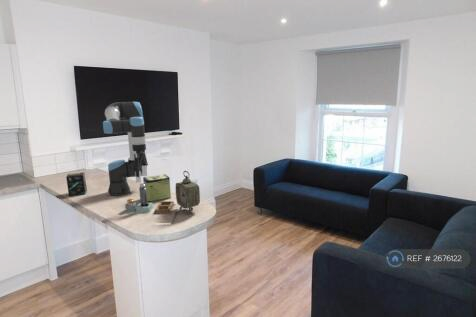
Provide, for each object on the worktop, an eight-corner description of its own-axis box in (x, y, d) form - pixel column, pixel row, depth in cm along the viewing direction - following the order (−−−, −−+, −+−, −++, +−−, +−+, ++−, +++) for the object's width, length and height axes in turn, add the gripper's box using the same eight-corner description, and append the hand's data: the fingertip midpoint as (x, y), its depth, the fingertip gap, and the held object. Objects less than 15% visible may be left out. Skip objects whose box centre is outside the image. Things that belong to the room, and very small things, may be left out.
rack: (159, 205, 202) (159, 201, 201) (175, 205, 202) (175, 200, 201) (153, 215, 186) (153, 210, 185) (170, 214, 186) (170, 210, 185)
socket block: (130, 208, 198) (129, 200, 197) (154, 207, 199) (153, 200, 198) (123, 215, 187) (123, 207, 186) (149, 214, 187) (149, 206, 186)
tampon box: (87, 190, 237) (84, 171, 234) (85, 194, 228) (83, 174, 225) (70, 192, 233) (68, 173, 230) (68, 196, 225) (65, 176, 222)
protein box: (171, 199, 213) (169, 177, 210) (148, 203, 206) (146, 180, 203) (166, 195, 222) (165, 173, 219) (144, 199, 215) (142, 177, 212)
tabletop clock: (176, 209, 195) (174, 169, 190) (189, 205, 200) (187, 167, 195) (188, 216, 184) (185, 174, 179) (201, 212, 189) (199, 171, 184)
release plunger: (128, 206, 194) (128, 199, 193) (135, 206, 194) (134, 199, 193) (126, 209, 190) (126, 201, 189) (133, 209, 190) (132, 201, 189)
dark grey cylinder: (142, 208, 194) (140, 183, 191) (148, 208, 194) (146, 183, 191) (140, 211, 190) (138, 185, 187) (147, 210, 190) (144, 185, 187)
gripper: (138, 140, 196) (141, 173, 200) (125, 147, 172) (129, 185, 176) (150, 140, 196) (153, 173, 201) (139, 147, 172) (142, 184, 176)
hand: (141, 179), depth 188 cm, fingers open, 13 cm apart
